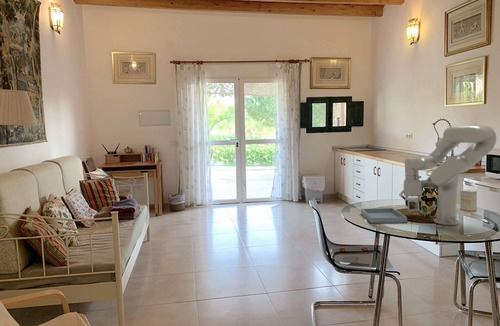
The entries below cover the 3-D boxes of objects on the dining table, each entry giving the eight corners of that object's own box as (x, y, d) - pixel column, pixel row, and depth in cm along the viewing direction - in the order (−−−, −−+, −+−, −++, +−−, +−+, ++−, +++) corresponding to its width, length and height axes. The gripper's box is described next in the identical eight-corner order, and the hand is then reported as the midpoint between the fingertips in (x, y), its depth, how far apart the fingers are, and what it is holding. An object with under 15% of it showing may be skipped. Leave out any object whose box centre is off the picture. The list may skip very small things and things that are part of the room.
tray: (407, 223, 203) (407, 217, 203) (371, 223, 205) (371, 217, 204) (392, 213, 227) (392, 208, 227) (361, 214, 228) (361, 208, 228)
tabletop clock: (438, 204, 247) (438, 169, 245) (445, 207, 238) (446, 170, 236) (417, 205, 248) (418, 169, 245) (424, 208, 238) (424, 171, 236)
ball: (417, 206, 218) (415, 201, 217) (411, 208, 218) (409, 204, 217) (414, 204, 222) (412, 199, 221) (409, 206, 222) (406, 202, 221)
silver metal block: (419, 210, 210) (418, 200, 210) (408, 210, 213) (407, 200, 212) (418, 206, 221) (417, 197, 221) (407, 206, 224) (407, 197, 223)
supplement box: (477, 211, 225) (477, 190, 224) (471, 212, 223) (472, 191, 222) (464, 208, 233) (465, 189, 232) (459, 209, 231) (460, 189, 230)
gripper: (427, 176, 216) (428, 205, 217) (396, 177, 223) (398, 205, 224) (428, 178, 210) (429, 208, 210) (396, 178, 216) (398, 207, 217)
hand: (413, 206), depth 217 cm, fingers closed on silver metal block, 6 cm apart
